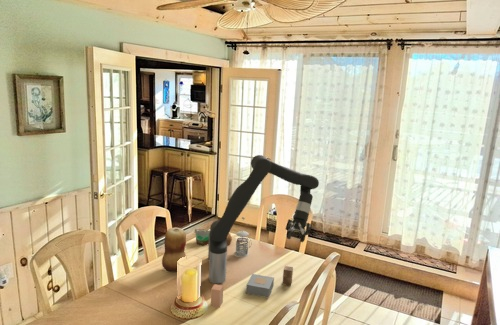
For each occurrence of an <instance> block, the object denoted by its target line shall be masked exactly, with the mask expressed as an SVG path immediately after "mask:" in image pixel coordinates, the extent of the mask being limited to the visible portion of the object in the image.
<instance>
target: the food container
mask: <svg viewBox="0 0 500 325" xmlns="http://www.w3.org/2000/svg"><path fill="white" fill-rule="evenodd" d="M209 231H210V230H208V229H197V228H196V227H195V228H194V231H193V232H194V233H195V242H196V245H198V244H199V246H208V245H209ZM207 244H208V245H207Z"/></svg>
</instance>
